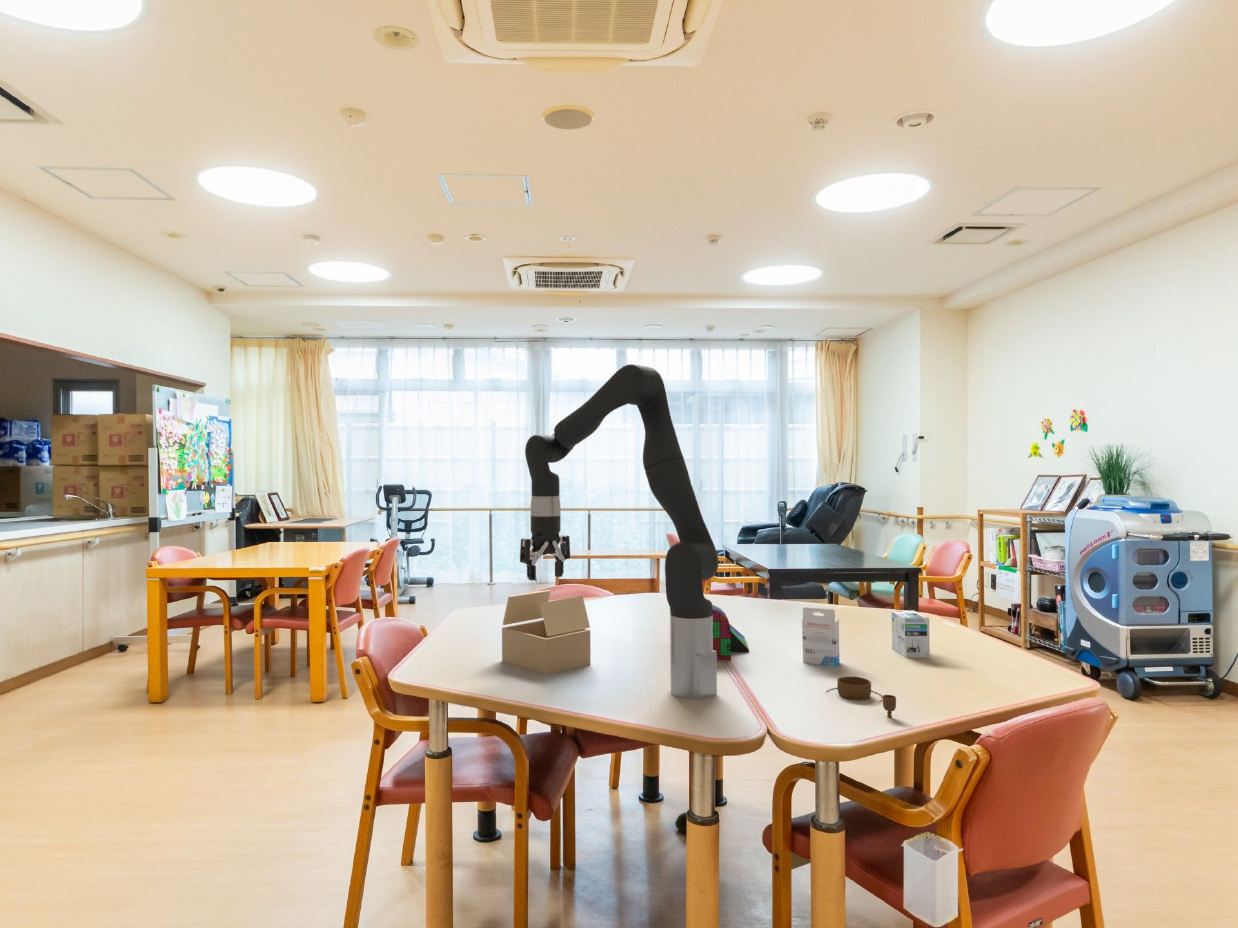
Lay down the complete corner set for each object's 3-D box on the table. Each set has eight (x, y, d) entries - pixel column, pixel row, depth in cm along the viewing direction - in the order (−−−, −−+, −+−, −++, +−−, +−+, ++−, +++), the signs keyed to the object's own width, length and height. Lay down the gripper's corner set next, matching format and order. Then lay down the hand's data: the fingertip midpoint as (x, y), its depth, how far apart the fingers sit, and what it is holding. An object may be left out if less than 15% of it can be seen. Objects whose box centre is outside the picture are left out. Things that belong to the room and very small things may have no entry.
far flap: (550, 590, 194) (549, 589, 194) (509, 596, 185) (508, 595, 185) (544, 617, 196) (543, 616, 196) (503, 625, 187) (502, 624, 187)
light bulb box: (930, 658, 193) (930, 617, 193) (904, 658, 193) (904, 617, 193) (915, 648, 204) (914, 609, 204) (890, 648, 204) (890, 609, 204)
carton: (590, 669, 183) (590, 629, 183) (546, 681, 174) (546, 639, 174) (545, 656, 196) (545, 619, 196) (502, 666, 187) (501, 627, 187)
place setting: (898, 699, 161) (898, 672, 161) (900, 730, 142) (900, 699, 142) (815, 691, 167) (815, 665, 167) (807, 720, 148) (807, 690, 148)
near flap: (588, 627, 183) (590, 627, 183) (547, 636, 174) (548, 636, 174) (581, 596, 185) (582, 595, 185) (539, 603, 176) (541, 602, 176)
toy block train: (752, 664, 189) (751, 609, 189) (686, 662, 190) (685, 608, 191) (744, 641, 214) (743, 592, 214) (685, 640, 215) (685, 592, 215)
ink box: (840, 664, 188) (839, 606, 188) (836, 669, 183) (836, 609, 183) (806, 660, 192) (806, 603, 192) (802, 664, 187) (801, 606, 187)
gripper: (532, 516, 177) (532, 583, 177) (576, 513, 187) (576, 576, 187) (513, 514, 183) (513, 579, 183) (558, 512, 193) (558, 573, 193)
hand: (545, 578), depth 185 cm, fingers open, 8 cm apart
